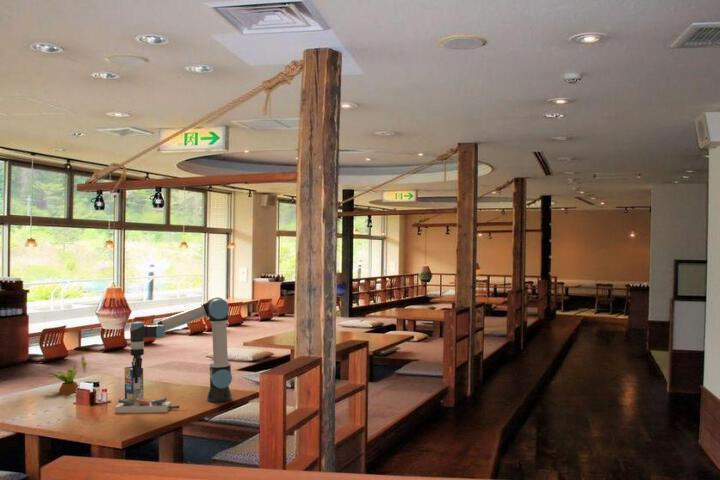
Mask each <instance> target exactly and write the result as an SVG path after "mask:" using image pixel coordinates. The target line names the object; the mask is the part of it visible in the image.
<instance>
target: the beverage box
mask: <svg viewBox="0 0 720 480" xmlns="http://www.w3.org/2000/svg"><path fill="white" fill-rule="evenodd" d="M140 376H141V377H140V388H139V389H134V378H133V370H132V366H126V367H124V399H129V400H134V401H135V399H137V398H141V399H144V368H143V367H141V375H140Z"/></svg>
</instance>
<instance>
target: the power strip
mask: <svg viewBox="0 0 720 480" xmlns="http://www.w3.org/2000/svg"><path fill="white" fill-rule="evenodd" d="M151 402H152V401H151ZM151 402H150V404H148V405H146V404H141V403H136V402H134V404H132V405H129V404H124V403H118V404H116V405H115V406H114V413H115V414H119V413H120V414H121V413H122V414H123V413H125V414H127V413H128V414H129V413H130V414H131V413H132V414H133V413H168V411H169V410H173V409H175V410H177V409H180V405H172V401H165V402H162V403H157V404H153V405H151Z"/></svg>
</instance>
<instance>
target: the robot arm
mask: <svg viewBox="0 0 720 480" xmlns="http://www.w3.org/2000/svg"><path fill="white" fill-rule="evenodd" d="M229 313H230V306H229V304H228V302H227V301H226V300H225V299H223V298H222V297H213V298H211V299H209V300H207V301H205V302H202V303H201V304H200V305H199V306H195V307H193V308H191V309H188V310H185V311H182V312H180V313H177V314H173V315H171V316H168V317H165V318H163V319H161V320H157V321H153V322H151V323H150V324H148V325H147V324H145V322H144V321H133V322H131V324H130V342H129V345H130V350H129V351H130V356H131V357H132V356H133V358H132V361H131V367H132V370H133V378H134V389H139V388H140V377H141V376H140V375H141V368H143V366H142V365H143V364H142V363H143V358H142V356H143V355H144V354H145V352H144V351H145V339H150V338H151V339H153V338H155V339H156V338H158V339H159V338H165V336H166V332H167V331H170V330H173V329H175V328H178V327H181V326H184V325H186V324H190V323H191V322H194V321H197V320H200V319H203V318H206V319H207V318H208V321H209V323H210V324H211V331H212V332H211V333H212V352H213V353H212V355H213V356H212V357H213V363H210V364H209V391H208V393H207V396H206V398H207V399H206V400H207V401H208V402H211V403H221V402H222V403H224V402H228V401H231V400H233V399H232V395H233V394H232V393H231V390H230V385H231V383H232V380H233V376H232V369H231V368H232V367H231V366H232V365H231V363H229V359H228V358H229V356H228V334H227V323H228V321H230V320H229Z"/></svg>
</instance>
